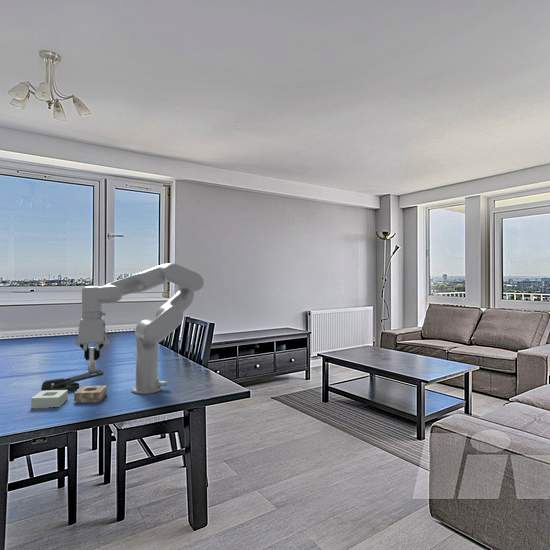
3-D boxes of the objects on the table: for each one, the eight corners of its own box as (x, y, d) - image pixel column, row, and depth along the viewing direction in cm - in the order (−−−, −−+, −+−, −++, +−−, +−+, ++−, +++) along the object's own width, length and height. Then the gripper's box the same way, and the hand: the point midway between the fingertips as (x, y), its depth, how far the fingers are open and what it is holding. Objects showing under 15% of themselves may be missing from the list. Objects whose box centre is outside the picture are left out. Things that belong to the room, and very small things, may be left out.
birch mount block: (106, 394, 175) (106, 385, 175) (100, 402, 165) (100, 392, 165) (81, 395, 173) (81, 386, 173) (74, 403, 163) (74, 393, 163)
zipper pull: (105, 372, 186) (43, 380, 171) (105, 387, 187) (42, 396, 171) (100, 368, 194) (40, 376, 178) (99, 382, 194) (39, 391, 179)
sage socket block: (67, 399, 168) (67, 389, 168) (58, 407, 158) (58, 397, 158) (41, 400, 166) (41, 390, 166) (31, 408, 156) (31, 398, 156)
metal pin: (97, 370, 171) (96, 347, 171) (95, 372, 168) (94, 348, 168) (89, 371, 170) (89, 347, 170) (87, 372, 167) (87, 348, 167)
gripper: (114, 314, 174) (114, 357, 174) (74, 314, 171) (74, 358, 171) (110, 316, 166) (110, 361, 167) (67, 317, 164) (68, 362, 164)
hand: (92, 359), depth 169 cm, fingers closed on metal pin, 3 cm apart
